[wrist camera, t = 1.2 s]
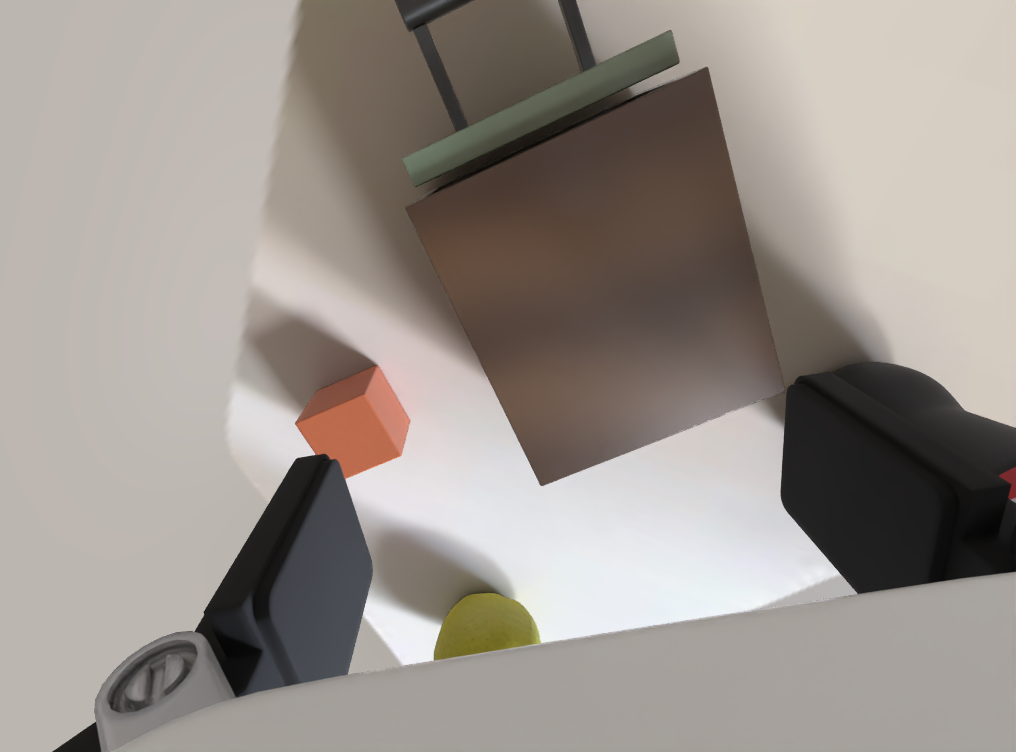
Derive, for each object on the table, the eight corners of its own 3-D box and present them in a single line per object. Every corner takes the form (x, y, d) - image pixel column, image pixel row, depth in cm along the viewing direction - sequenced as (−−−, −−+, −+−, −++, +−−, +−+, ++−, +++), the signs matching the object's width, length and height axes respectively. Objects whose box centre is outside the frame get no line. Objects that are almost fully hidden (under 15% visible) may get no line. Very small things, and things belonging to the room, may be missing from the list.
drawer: (367, 43, 26) (326, 0, 19) (582, -66, 25) (624, -156, 18) (517, 370, 33) (529, 429, 26) (690, 298, 32) (751, 339, 25)
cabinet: (426, 192, 30) (404, 207, 21) (636, 93, 28) (708, 65, 20) (525, 403, 35) (540, 487, 26) (705, 329, 34) (785, 391, 25)
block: (378, 363, 34) (364, 393, 29) (410, 420, 35) (402, 456, 31) (316, 390, 34) (293, 423, 30) (351, 445, 36) (334, 483, 32)
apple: (471, 679, 43) (450, 787, 34) (431, 595, 43) (398, 679, 33) (560, 647, 43) (565, 747, 33) (520, 560, 42) (513, 635, 32)
